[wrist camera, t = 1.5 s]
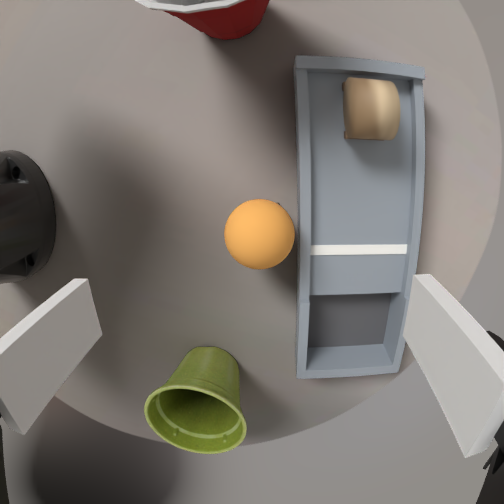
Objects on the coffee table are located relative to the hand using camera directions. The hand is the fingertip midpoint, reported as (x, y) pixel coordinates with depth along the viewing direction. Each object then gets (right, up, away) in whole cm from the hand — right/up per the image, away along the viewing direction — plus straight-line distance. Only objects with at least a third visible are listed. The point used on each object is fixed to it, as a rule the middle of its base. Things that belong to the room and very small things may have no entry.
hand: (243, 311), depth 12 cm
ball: (+1, +4, +11) cm, 12 cm away
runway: (+9, +5, +15) cm, 18 cm away
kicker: (+9, +13, +10) cm, 18 cm away
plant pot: (-4, -10, +21) cm, 24 cm away
